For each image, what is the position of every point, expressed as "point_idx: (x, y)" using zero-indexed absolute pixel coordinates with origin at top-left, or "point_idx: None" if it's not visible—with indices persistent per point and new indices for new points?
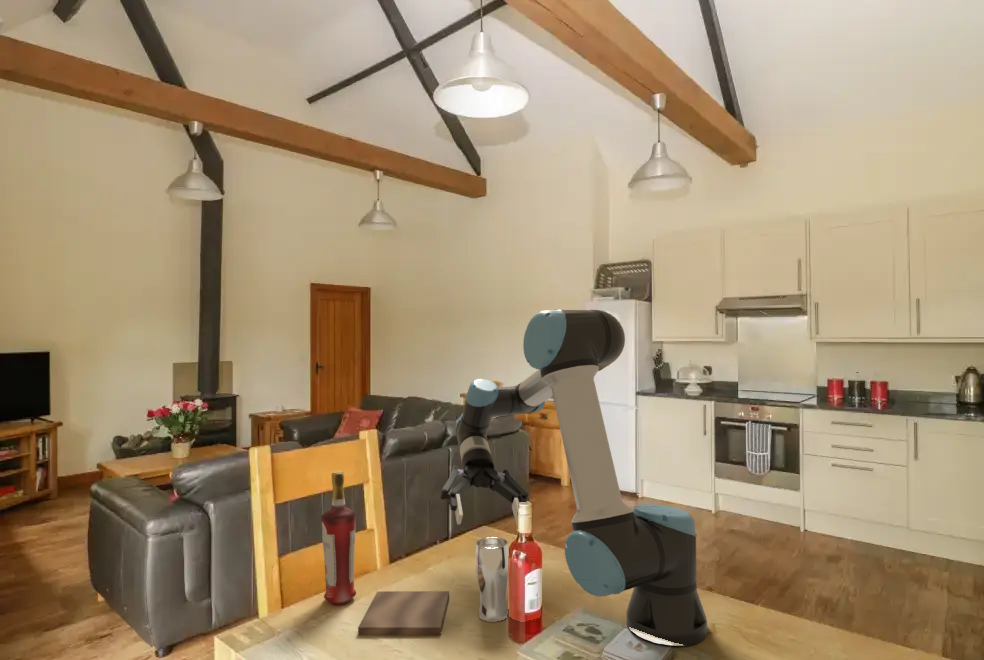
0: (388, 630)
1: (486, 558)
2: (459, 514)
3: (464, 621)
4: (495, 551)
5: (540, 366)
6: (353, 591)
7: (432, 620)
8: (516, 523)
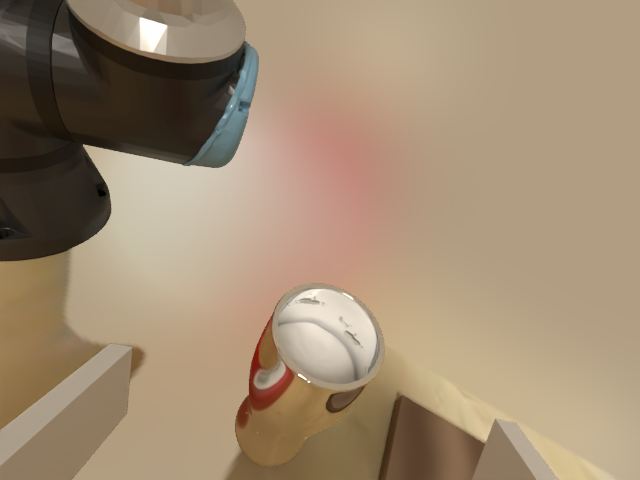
0: None
1: (350, 318)
2: (517, 427)
3: (340, 432)
4: (333, 293)
5: None
6: None
7: (415, 433)
8: (106, 435)
